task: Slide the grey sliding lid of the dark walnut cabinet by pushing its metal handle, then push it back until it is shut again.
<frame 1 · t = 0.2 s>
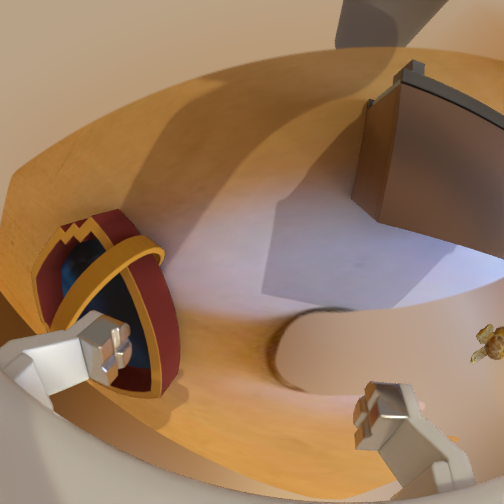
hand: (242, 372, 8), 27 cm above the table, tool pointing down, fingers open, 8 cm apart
decorative basket: (117, 306, 44), on the table
grey sliding lid: (457, 109, 20), point 7 cm above the table, slide at 0.0 cm
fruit: (488, 338, 33), on the table
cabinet: (423, 173, 29), on the table
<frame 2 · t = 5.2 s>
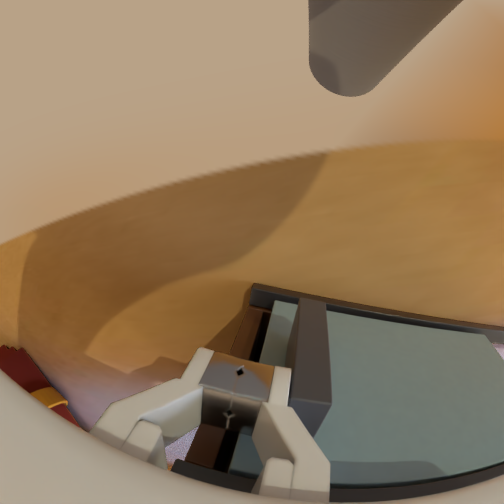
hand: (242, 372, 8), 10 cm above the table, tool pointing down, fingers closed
decorative basket: (51, 414, 34), on the table
grey sliding lid: (433, 366, 10), point 7 cm above the table, slide at 1.1 cm, touching gripper
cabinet: (349, 381, 19), on the table
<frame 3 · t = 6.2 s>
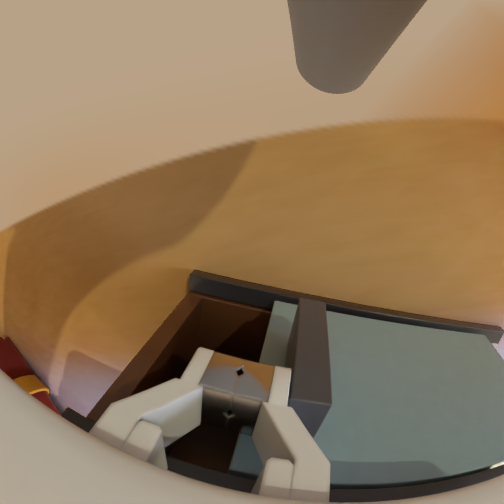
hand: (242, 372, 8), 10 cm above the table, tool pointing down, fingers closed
decorative basket: (37, 404, 35), on the table
grey sliding lid: (433, 367, 10), point 7 cm above the table, slide at 5.1 cm, touching gripper
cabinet: (300, 374, 20), on the table
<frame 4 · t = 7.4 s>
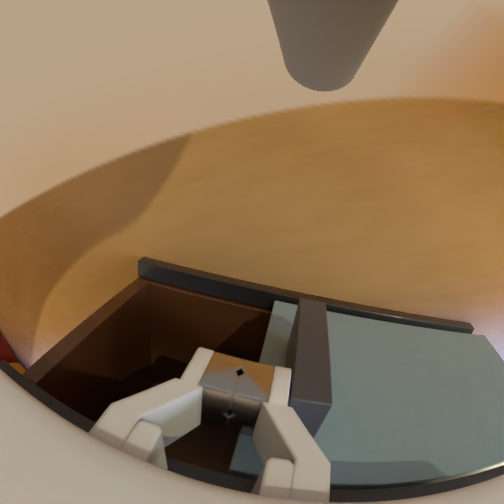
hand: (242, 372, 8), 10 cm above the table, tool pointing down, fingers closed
decorative basket: (24, 394, 35), on the table
grey sliding lid: (433, 367, 10), point 7 cm above the table, slide at 9.0 cm, touching gripper
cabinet: (248, 364, 20), on the table
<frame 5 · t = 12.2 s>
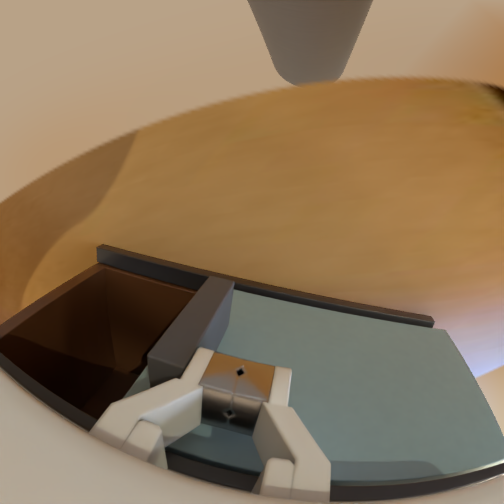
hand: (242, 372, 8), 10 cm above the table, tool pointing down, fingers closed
grey sliding lid: (356, 357, 11), point 7 cm above the table, slide at 8.8 cm, touching gripper
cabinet: (199, 349, 21), on the table
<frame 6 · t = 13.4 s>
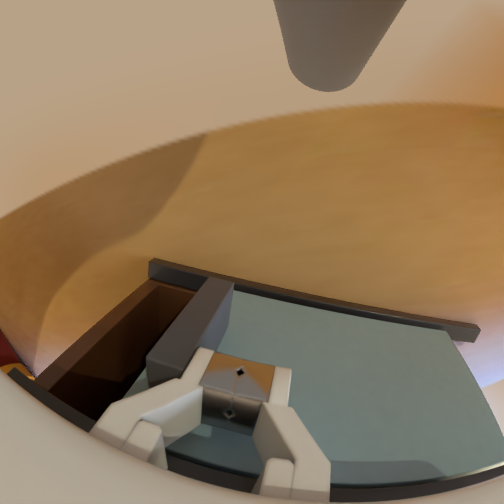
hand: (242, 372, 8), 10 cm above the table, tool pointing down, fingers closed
decorative basket: (26, 394, 35), on the table
grey sliding lid: (356, 358, 11), point 7 cm above the table, slide at 4.0 cm, touching gripper
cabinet: (259, 365, 20), on the table
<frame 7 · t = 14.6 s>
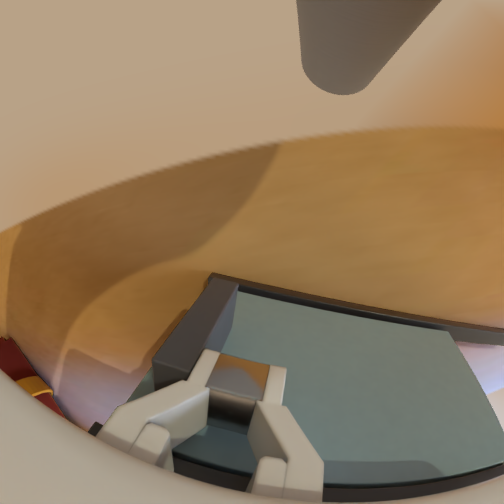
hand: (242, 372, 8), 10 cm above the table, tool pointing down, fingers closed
decorative basket: (39, 404, 34), on the table
grey sliding lid: (360, 359, 11), point 7 cm above the table, slide at -0.1 cm, touching gripper
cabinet: (314, 376, 20), on the table
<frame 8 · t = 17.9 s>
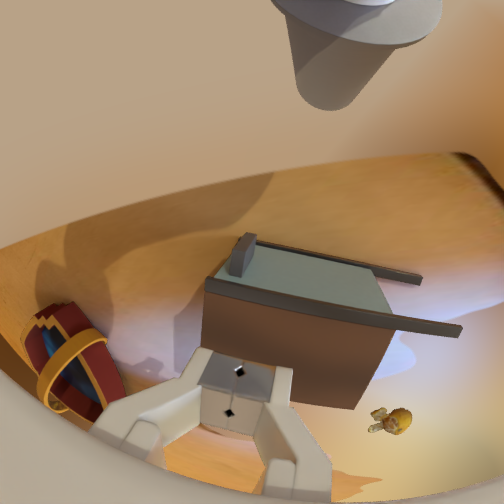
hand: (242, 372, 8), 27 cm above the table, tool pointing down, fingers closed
decorative basket: (84, 362, 52), on the table
grey sliding lid: (309, 265, 28), point 7 cm above the table, slide at 0.0 cm
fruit: (387, 415, 42), on the table
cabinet: (296, 298, 37), on the table
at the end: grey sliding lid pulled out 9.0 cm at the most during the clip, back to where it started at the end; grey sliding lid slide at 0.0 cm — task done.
